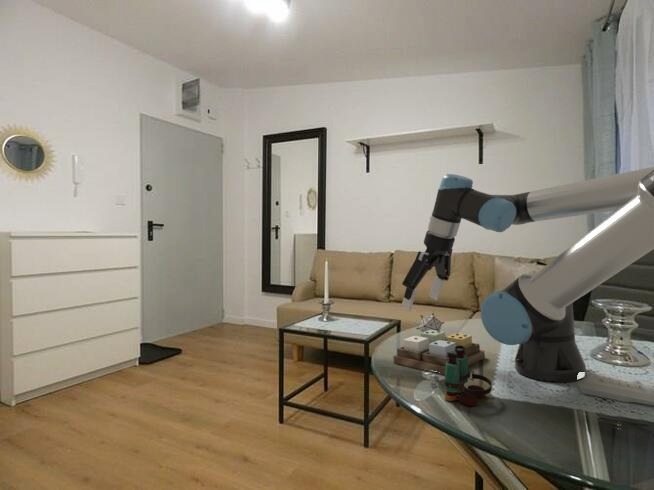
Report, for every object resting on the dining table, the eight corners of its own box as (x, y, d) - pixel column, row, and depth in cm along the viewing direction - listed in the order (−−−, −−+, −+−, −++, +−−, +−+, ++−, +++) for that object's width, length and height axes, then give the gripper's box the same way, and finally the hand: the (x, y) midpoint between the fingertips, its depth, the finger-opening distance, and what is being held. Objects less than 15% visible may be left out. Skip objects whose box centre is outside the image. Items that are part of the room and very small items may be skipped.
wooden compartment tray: (484, 357, 108) (483, 343, 108) (450, 376, 96) (449, 360, 96) (430, 347, 122) (429, 335, 121) (393, 362, 110) (392, 349, 110)
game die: (436, 348, 133) (445, 329, 127) (412, 340, 134) (420, 320, 128) (439, 330, 140) (447, 311, 134) (416, 322, 141) (423, 303, 135)
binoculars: (485, 363, 76) (437, 352, 82) (484, 415, 76) (436, 400, 83) (498, 351, 82) (453, 341, 89) (497, 398, 83) (452, 385, 90)
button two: (456, 353, 103) (455, 341, 102) (446, 358, 99) (445, 346, 99) (440, 350, 106) (439, 339, 106) (429, 355, 103) (428, 343, 103)
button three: (445, 341, 115) (444, 331, 114) (436, 345, 111) (435, 334, 111) (431, 339, 118) (430, 329, 118) (421, 343, 115) (420, 332, 115)
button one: (429, 348, 109) (428, 337, 109) (418, 353, 106) (417, 341, 106) (414, 345, 113) (413, 335, 113) (404, 350, 109) (403, 338, 109)
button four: (472, 346, 108) (471, 334, 108) (463, 350, 105) (462, 338, 105) (456, 343, 112) (455, 332, 112) (446, 347, 109) (446, 336, 109)
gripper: (452, 225, 112) (433, 288, 120) (401, 232, 95) (382, 306, 103) (476, 234, 107) (454, 300, 115) (426, 244, 90) (404, 320, 98)
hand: (420, 303), depth 109 cm, fingers open, 13 cm apart
